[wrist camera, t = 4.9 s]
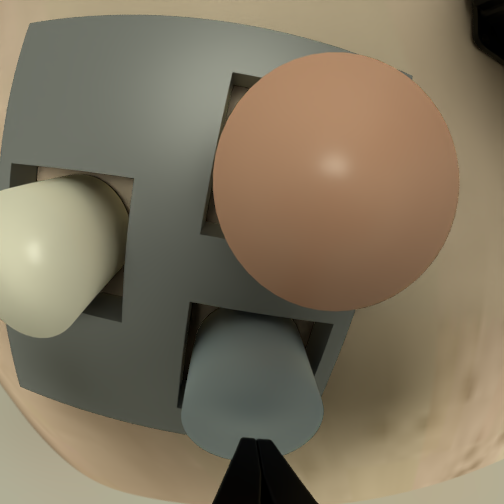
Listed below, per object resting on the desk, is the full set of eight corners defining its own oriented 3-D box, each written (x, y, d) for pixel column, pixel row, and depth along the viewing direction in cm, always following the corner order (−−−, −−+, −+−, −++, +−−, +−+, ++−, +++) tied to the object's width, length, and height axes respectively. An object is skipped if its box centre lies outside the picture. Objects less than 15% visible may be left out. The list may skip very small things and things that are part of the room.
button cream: (138, 181, 10) (88, 199, 6) (126, 294, 11) (86, 354, 8) (38, 168, 10) (-32, 182, 6) (36, 272, 11) (-22, 316, 7)
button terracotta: (386, 119, 8) (475, 107, 4) (353, 257, 9) (418, 322, 5) (241, 79, 8) (245, 23, 4) (210, 230, 9) (191, 288, 5)
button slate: (313, 310, 12) (343, 375, 8) (285, 393, 13) (300, 463, 9) (202, 292, 12) (188, 357, 8) (189, 380, 13) (177, 452, 9)
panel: (388, 84, 10) (412, 75, 8) (292, 418, 14) (298, 445, 12) (53, 35, 9) (30, 23, 7) (35, 365, 13) (20, 386, 11)
